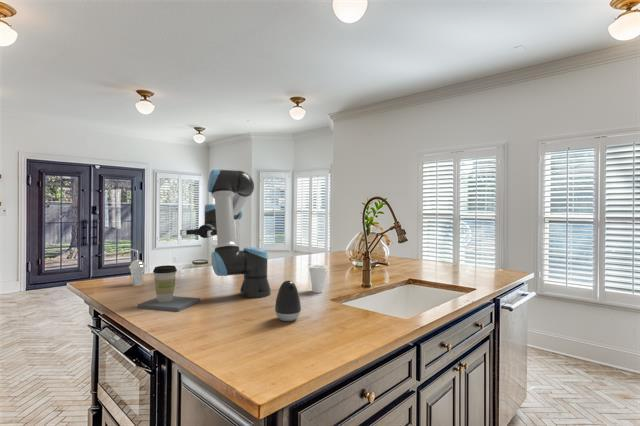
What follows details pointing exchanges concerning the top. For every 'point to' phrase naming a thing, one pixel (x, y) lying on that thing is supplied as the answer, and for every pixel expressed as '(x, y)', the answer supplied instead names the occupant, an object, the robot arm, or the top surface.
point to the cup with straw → (137, 270)
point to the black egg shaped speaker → (287, 302)
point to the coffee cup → (164, 282)
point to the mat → (170, 303)
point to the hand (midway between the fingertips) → (194, 233)
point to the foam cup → (318, 277)
